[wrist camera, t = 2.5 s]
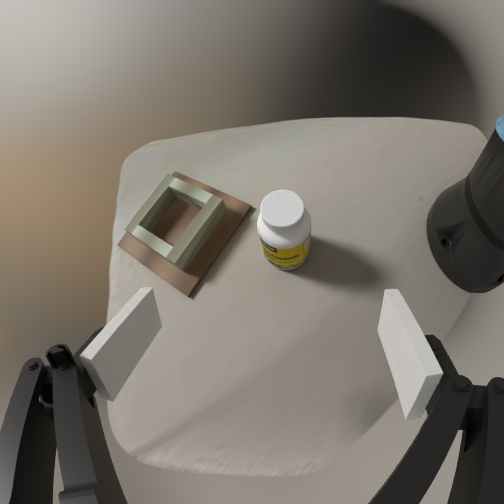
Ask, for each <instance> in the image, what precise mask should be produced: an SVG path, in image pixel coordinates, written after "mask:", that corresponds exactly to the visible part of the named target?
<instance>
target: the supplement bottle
mask: <svg viewBox="0 0 504 504" xmlns="http://www.w3.org/2000/svg"><path fill="white" fill-rule="evenodd" d="M260 211H261V212H260V214H259V217H258V221H257V228H258V233H259V237H260V240H261V243H262V247H263V250H264V254H265V256H266V258H267V260H268V261H269V263H270V264H271V265H273V266H274V267H276V268H278V269H282V270H291V269H295V268H297V267H299V266H300V265H302V264H303V263H304V261H305V260H306V259H307V256H308V254H309V248H310V235H311V218H310V215H309V213H308V211H307V209H306V208H305V207H304V203H303V201H302V199H301V198H300V197H299V195H297V194H296V193H294V192H292V191H289V190H277V191H274V192H271V193H270V194H268V195H267V196H266V197H265V198H264V199H263V201H262V203H261V207H260Z"/></svg>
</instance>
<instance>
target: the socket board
mask: <svg viewBox="0 0 504 504" xmlns="http://www.w3.org/2000/svg"><path fill="white" fill-rule="evenodd" d="M251 208H252V207H251V205H249V204H247V203H245V202H243V201H241V200H238V199H236V198H234V197H232V196H230V195H228V194H225V193H223V192H221V191H219V190H216V189H214V188H212V187H210V186H207V185H205V184H203V183H201V182H198V181H196V180H194V179H192V178H189V177H187V176H185V175H182V174H180V173H178V172H174V173H173V174H172V175H169V174H168V175H167V176H166V178H165V179H164V180H163V181H162V182H161V184H160V185H159V186H158V187H157V188H156V190H155V191H154V192H153V193H152V194H151V196H150V197H149V198H148V199H147V201H146V202H145V203H144V204H143V206H142V207H141V208H140V210H139V211H138V212H137V213H136V215H135V216H134V217H133V219H132V220H131V221H130V223H129V224H128V225H127V227H126V228H125V230H126V231H127V232H126V233H125V235H124V236H123V238H122V239H121V240H120V242H119V243H118V244H117V245H118V246H119V247H121V248H122V249H123V250H125V251H126V252H127V253H129V254H130V255H131V256H132V257H134V258H135V259H136V260H138V261H139V262H140V263H142V264H143V265H144V266H146V267H147V268H148V269H150V270H151V271H153V272H154V273H155V274H157V275H158V276H159V277H161V278H162V279H164V280H165V281H166V282H168V283H169V284H171V285H172V286H173V287H175V288H176V289H178V290H179V291H180V292H182V293H183V294H185V295H186V296H188V297H190V296H191V294H192V293H193V291H194V290H195V288H196V287H197V285H198V284H199V282H200V281H201V280H202V278H203V277H204V275H205V274H206V272H207V271H208V269H209V268H210V266H211V265H212V264H213V262H214V261H215V259H216V258H217V256H218V255H219V254H220V252H221V251H222V249H223V248H224V246H225V245H226V244H227V242H228V241H229V239H230V238H231V236H232V235H233V234H234V232H235V231H236V229H237V228H238V227H239V225H240V224H241V222H242V221H243V219H244V218H245V217H246V215H247V214H248V212H249V211H250V210H251Z"/></svg>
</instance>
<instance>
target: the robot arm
mask: <svg viewBox="0 0 504 504" xmlns="http://www.w3.org/2000/svg"><path fill="white" fill-rule="evenodd" d="M427 237H428V242H429V245H430V249H431V251H432V254H433V256H434V258H435V260H436V262H437V264H438V265H439V267H440V268H441V270H442V271H443V272H444V274H445V275H446V276H447V277H448V278H449V279H450V280H451V281H452V282H453V283H455V284H456V285H457V286H459V287H461V288H462V289H464V290H467V291H470V292H475V293H484V292H488V291H490V290H492V289H494V288H496V287H497V286H499V285H501V284H502V283H503V282H504V114H503V115H502V116H501V117H500V118H499V119H498V121H497V122H496V128H495V130H494V132H493V134H492V136H491V138H490V139H489V141H488V143H487V145H486V146H485V148H484V150H483V152H482V153H481V155H480V157H479V158H478V160H477V162H476V163H475V165H474V166H473V168H472V170H471V171H470V173H469V174H468V176H467V177H466V178H464V179H462V180H461V181H459V182H457V183H456V184H454V185H452V186H451V187H449V188H447V189H446V190H444V191H443V192H442V193H441V194H440V195H439V196H438V198H437V199H436V201H435V202H434V204H433V205H432V207H431V209H430V211H429V214H428V218H427ZM161 327H162V324H161V320H160V316H159V312H158V308H157V304H156V300H155V296H154V292H153V288H145V287H141V289H140V290H139V291H138V292H137V293H136V294H135V295H134V296H133V297H132V298H131V299H130V300H129V301H128V302H127V303H126V304H125V306H124V307H123V308H122V309H121V310H120V311H119V312H118V313H117V314H116V315H115V316H114V317H113V319H112V320H111V321H110V322H109V323H108V324H107V325H106V326H105V327H102V328H100V329H99V330H97V331H95V332H94V334H92V336H91V337H90V339H88V340H87V341H86V343H85V344H83V346H82V347H81V348H80V349H79V350H78V351H77V352H76V354H75V355H74V356H72V354H71V352H70V350H69V347H68V346H67V345H65V344H57V345H55V346H53V347H51V348H50V349H49V350H48V351H47V352H46V357H47V359H48V361H49V363H50V364H51V366H45V365H44V363H43V361H42V359H40V358H32V359H30V360H28V361H27V362H26V363H25V364H24V366H23V368H22V370H21V373H20V375H19V378H18V381H17V383H16V386H15V388H14V391H13V394H12V397H11V399H10V402H9V405H8V408H7V411H6V415H5V418H4V421H3V424H2V428H1V431H0V504H53V478H54V467H55V457H56V448H57V450H58V457H59V463H60V469H61V475H62V480H63V485H64V491H62V492H60V493H59V501H60V504H127V501H126V499H125V496H124V494H123V491H122V489H121V486H120V483H119V480H118V478H117V475H116V472H115V469H114V466H113V463H112V460H111V457H110V453H109V450H108V447H107V443H106V440H105V436H104V432H103V429H102V424H101V420H100V417H99V412H98V408H97V403H96V399H95V397H94V395H93V394H94V393H95V391H96V390H97V391H98V393H99V395H100V397H101V398H104V399H106V400H110V401H114V399H115V398H116V396H117V395H118V393H119V391H120V390H121V388H122V387H123V385H124V384H125V382H126V380H127V379H128V377H129V376H130V374H131V373H132V371H133V370H134V368H135V366H136V365H137V363H138V362H139V360H140V359H141V357H142V356H143V354H144V353H145V351H146V350H147V348H148V347H149V345H150V344H151V342H152V340H153V339H154V337H155V336H156V334H157V333H158V331H159V330H160V328H161ZM377 331H378V333H379V336H380V339H381V342H382V345H383V348H384V351H385V354H386V357H387V360H388V363H389V366H390V369H391V372H392V375H393V378H394V382H395V385H396V388H397V391H398V395H399V398H400V401H401V405H402V409H403V412H404V416H405V420H408V419H414V418H419V417H421V416H422V414H423V413H424V411H425V409H426V410H427V414H428V417H427V419H426V420H425V422H424V424H423V425H422V427H421V429H420V431H419V433H418V434H417V436H416V438H415V439H414V441H413V443H412V444H411V446H410V447H409V449H408V450H407V452H406V454H405V455H404V457H403V458H402V460H401V461H400V463H399V464H398V465H397V467H396V468H395V470H394V471H393V473H392V474H391V475H390V477H389V478H388V479H387V481H386V482H385V483H384V485H383V486H382V487H381V489H380V490H379V491H378V492H377V494H376V495H375V496H374V497H373V498H372V500H371V501H370V502H369V503H368V504H419V503H420V501H421V500H422V498H423V496H424V495H425V493H426V492H427V490H428V488H429V487H430V485H431V483H432V482H433V480H434V478H435V476H436V475H437V473H438V471H439V469H440V467H441V465H442V463H443V461H444V459H445V457H446V456H447V453H448V451H449V449H450V447H451V445H452V443H453V441H454V439H455V436H456V434H457V432H458V430H463V433H462V440H461V446H460V452H459V458H458V462H457V468H456V472H455V477H454V481H453V485H452V489H451V492H450V496H449V499H448V504H504V379H503V378H500V377H495V378H493V379H491V381H490V382H489V383H488V385H487V386H479V385H472V382H471V381H470V380H469V379H468V378H467V377H465V376H462V375H459V374H458V373H457V371H456V369H455V367H454V365H453V363H452V361H451V359H450V357H449V356H448V355H447V352H446V350H445V349H444V347H443V345H442V343H441V341H440V340H439V339H438V338H436V337H435V336H434V335H424V334H423V332H422V330H421V329H420V327H419V325H418V323H417V321H416V320H415V318H414V316H413V314H412V312H411V311H410V309H409V307H408V305H407V304H406V302H405V300H404V299H403V297H402V295H401V294H400V292H399V290H398V289H385V292H384V298H383V304H382V310H381V315H380V320H379V325H378V330H377ZM39 397H40V398H41V399H40V402H39Z"/></svg>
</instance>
